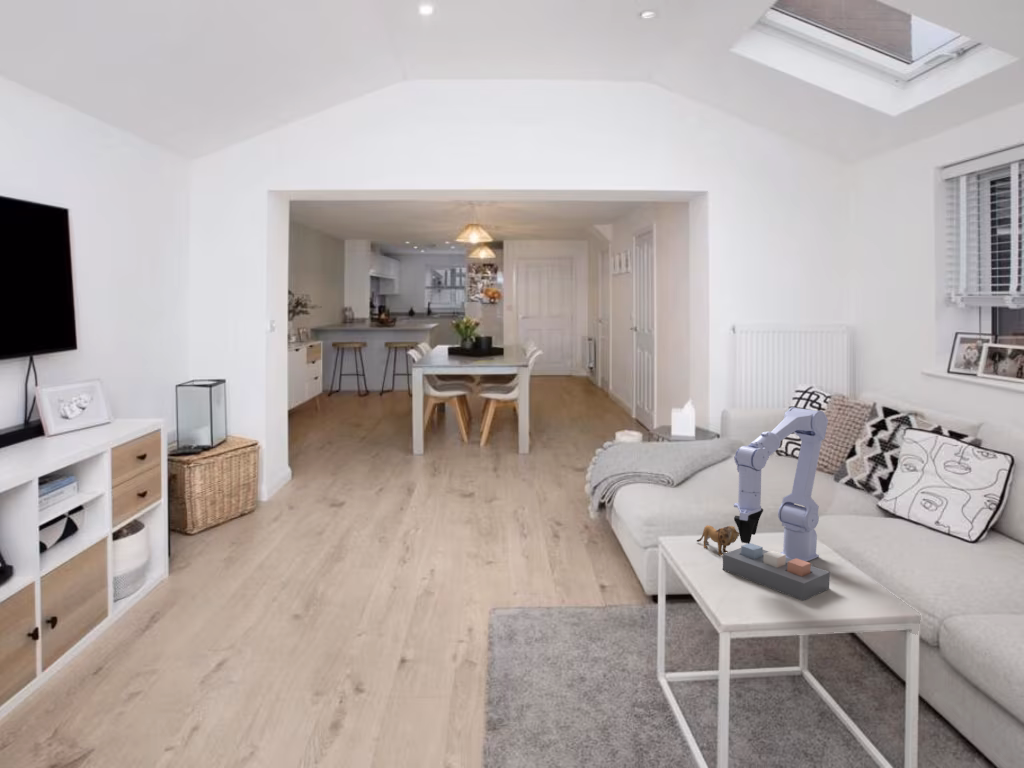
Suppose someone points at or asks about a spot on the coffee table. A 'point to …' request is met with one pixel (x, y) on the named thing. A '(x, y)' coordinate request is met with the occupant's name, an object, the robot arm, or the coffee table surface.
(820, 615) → the coffee table surface
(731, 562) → the key housing
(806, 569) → the red key
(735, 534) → the lion figurine
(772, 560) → the white key
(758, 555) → the blue key
